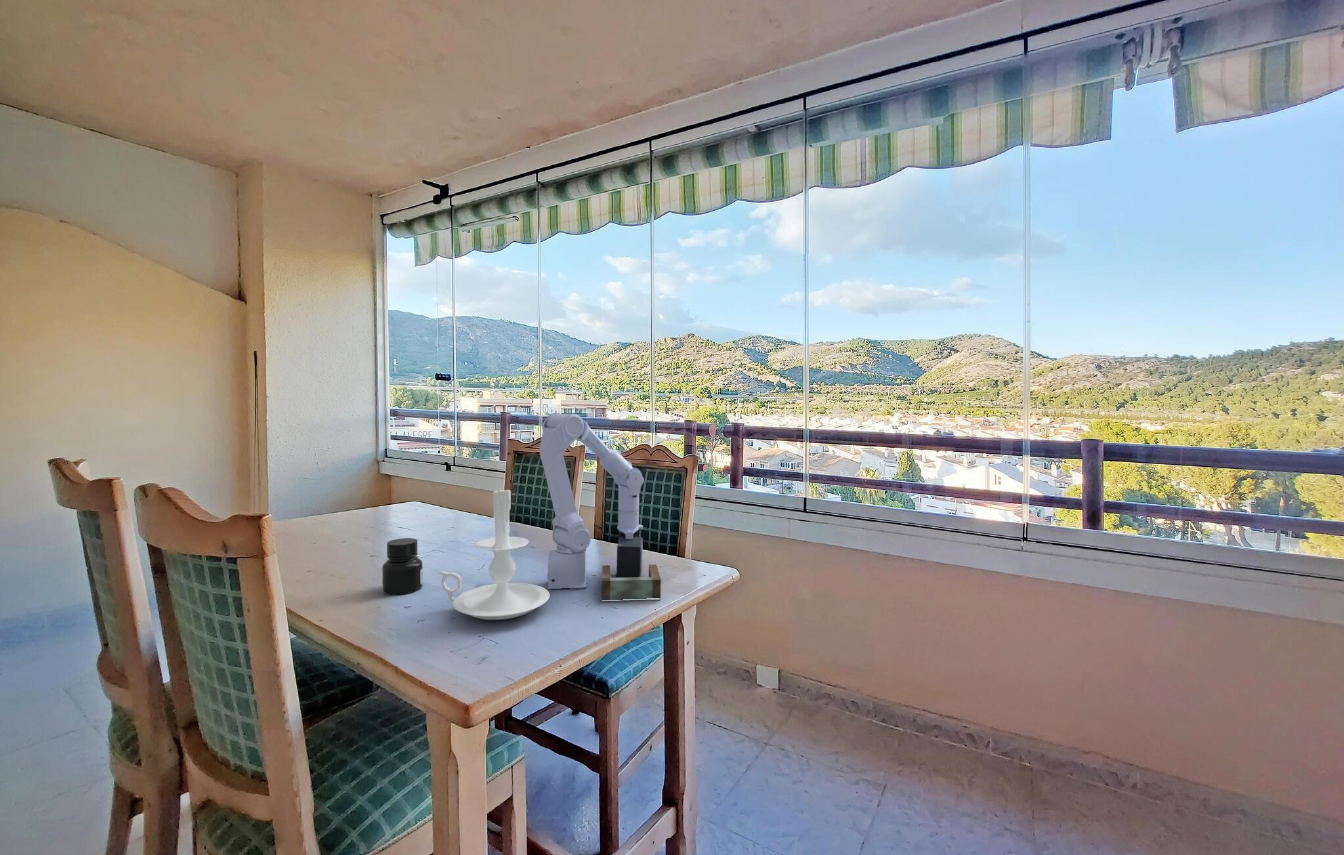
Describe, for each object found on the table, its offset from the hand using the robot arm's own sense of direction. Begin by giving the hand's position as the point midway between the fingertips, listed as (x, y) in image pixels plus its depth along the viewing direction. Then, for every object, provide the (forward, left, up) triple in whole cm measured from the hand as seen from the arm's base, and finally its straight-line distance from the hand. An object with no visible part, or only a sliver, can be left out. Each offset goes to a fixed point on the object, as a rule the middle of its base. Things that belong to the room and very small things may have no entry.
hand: (628, 558), depth 154 cm
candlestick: (-31, -27, -4) cm, 41 cm away
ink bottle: (-56, -11, -4) cm, 57 cm away
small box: (0, -8, -4) cm, 9 cm away
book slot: (0, -17, -3) cm, 18 cm away
